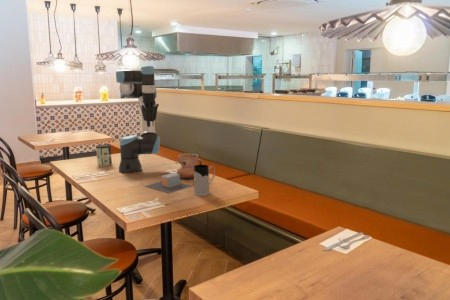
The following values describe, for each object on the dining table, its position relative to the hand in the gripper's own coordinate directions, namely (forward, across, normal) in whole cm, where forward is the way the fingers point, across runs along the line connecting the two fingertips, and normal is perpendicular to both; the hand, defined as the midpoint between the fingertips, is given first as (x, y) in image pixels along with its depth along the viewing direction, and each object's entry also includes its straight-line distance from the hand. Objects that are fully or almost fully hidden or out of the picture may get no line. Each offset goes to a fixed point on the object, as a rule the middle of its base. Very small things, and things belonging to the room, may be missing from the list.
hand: (150, 131), depth 229 cm
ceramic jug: (+30, +17, -15) cm, 37 cm away
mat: (+29, -6, -21) cm, 37 cm away
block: (+26, -8, -21) cm, 34 cm away
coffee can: (+30, +4, +60) cm, 67 cm away
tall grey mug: (+30, 0, -45) cm, 54 cm away
